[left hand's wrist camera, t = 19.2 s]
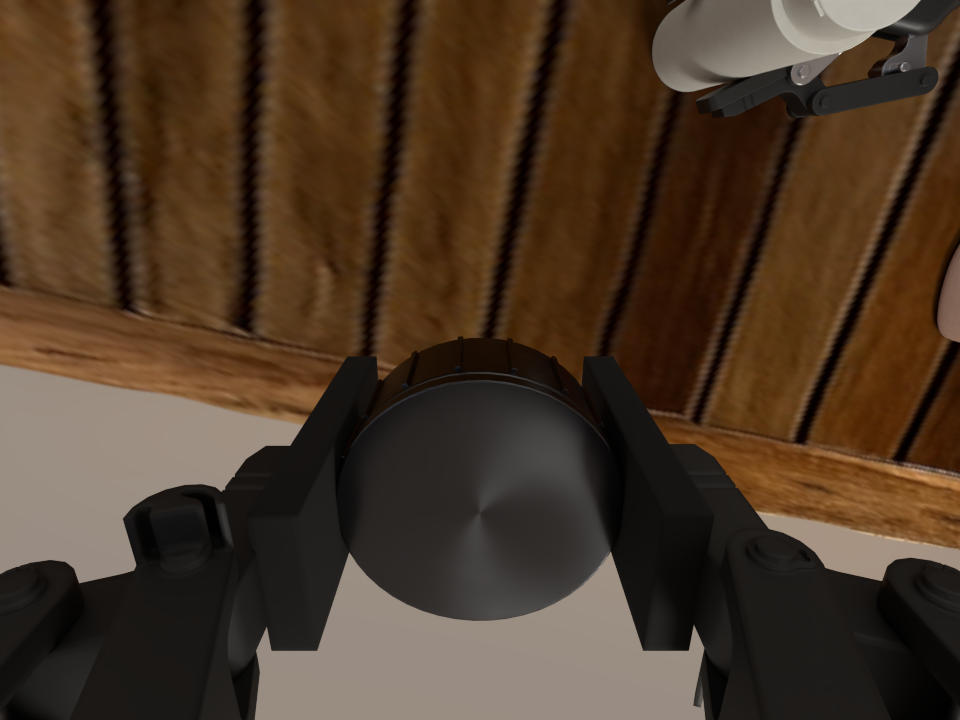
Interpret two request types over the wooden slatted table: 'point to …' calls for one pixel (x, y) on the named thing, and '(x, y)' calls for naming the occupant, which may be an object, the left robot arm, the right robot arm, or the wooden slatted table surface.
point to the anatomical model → (950, 301)
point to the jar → (760, 36)
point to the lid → (479, 482)
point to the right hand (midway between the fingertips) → (688, 51)
